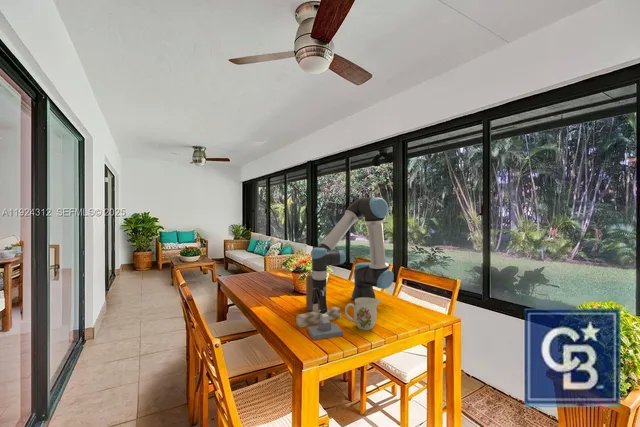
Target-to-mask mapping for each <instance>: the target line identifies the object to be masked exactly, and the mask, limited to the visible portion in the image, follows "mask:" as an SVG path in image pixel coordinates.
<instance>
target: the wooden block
mask: <svg viewBox="0 0 640 427" xmlns="http://www.w3.org/2000/svg"><path fill="white" fill-rule="evenodd" d="M312 279H313V278H312V274H311V272H310V273H308V274H307V275H306V278H305V281H306V282H305V287H306V288H305V289H306V292H305V302H306V303H305V308H306V311H309V312H313V303H312V293H313V286H312ZM323 290H324V291H325V292H326V293H327V285H326V286H325V287H323ZM318 302H319V299H318ZM317 304H318V310H320V304H319V303H317Z"/></svg>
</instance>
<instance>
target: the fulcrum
mask: <svg viewBox="0 0 640 427" xmlns="http://www.w3.org/2000/svg"><path fill="white" fill-rule="evenodd" d="M307 332H308V334H309V335H310V337H311V339H312V340H313V341H315V340H316V341H317V340H322V339H323V340H324V339H329V338H330V339H331V338H336V337H337V338H338V337H343V336H344V331H343V330H342V329H341V327H339V325H337V323H333V322H332V320H329V316H328V315H327V314H321V321H319V323H318V324H316V325H309V326H307Z"/></svg>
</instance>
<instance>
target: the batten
mask: <svg viewBox="0 0 640 427" xmlns="http://www.w3.org/2000/svg"><path fill="white" fill-rule="evenodd" d="M320 311H321V310H318V311H309V312H305V313H299V314H296V322H295V323H296V325H297V327H299V328H305V327H309V326H314V325H318V324H319V321H320V313H319V312H320ZM341 313H342V312H341V308H340V307H338V306H331V307H329V308H328V307H327V312H326V314H327V315H328V316H329V320H330V321H332V320H333V321H334V320H338V319H341V317H342V316H341Z"/></svg>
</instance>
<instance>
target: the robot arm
mask: <svg viewBox="0 0 640 427" xmlns="http://www.w3.org/2000/svg"><path fill="white" fill-rule="evenodd" d="M388 206H389V205H388V203H387V201H386V200H385V199H384V198H383V197H376V196H375V197H373V196H371V197H360V198H357V199H356V200H355V201H353V202H352V203H351V204H350V205H349V206H348V207H347V208H346V210H345V211H344V215H343V216H342V217H341V218H340V219H339V221H338V222H337V223H336V224H335V226H334V227H333V228H332V230H331V231H330V232H329V233H328V235H327V236H326V237H325V238H324V239H323V241H322V242H321V243H320V244H319V246H316V247H313V248H312V249H311V251H310V256H311V272H310V273H311V274H312V278H313V279H312V286H313V293H312V303H313V311H318V304H317V303H319V304H320V310H321V311H320V312H319V313H320V321H321V314H326V312H327V308H328V306H327V291H326V292H325V291H324V290H323V287H325V286H326V287H327V284H328V283H327V281H328V280H327V277H328V276H327V275H328V274H327V273H328V271H327V268H328V266H329V267H330V266H340V265H344V263H345V262H346V260H347V255H346V253H345V251H344V250H342V249H337V250H334V249H335V248H336V247H337V245H338V244H339V243H340V242H341V241H342V238H344V236H345V235H346V234H347V232H348V231H349V230H350V229H351V227H352V226H353V225H354V223H357V222H358V221H359V220H360V219H362V218H364V222H365V223H366V224H367V232H368V242H369V243H368V244H369V245H368V246H369V253H370V262H359V263H356V264H355V265H354V269H353V270H354V272H353V274H354V275H353V278H354V288H353V290H352V293H351V300H352V301H354V302H355V299H356V298H362V297H366V298H374V299H377V298H376V294H375V289H374V287H375V288H377V289H381V290H382V289H383V290H386V289H388V288H390V287H391V286H392V284H393V282H394V279H395V278H394V277H395V275H394V272H393V271H392V270H391V269H390V267H389V266H390V264H388V263H387V262H386V252H385V251H386V248H385V241H384V240H385V239H384V226H383V222H384V221H385V219H386V217H387V215H388V212H389V207H388ZM318 299H319V302H318ZM313 311H312V312H313Z"/></svg>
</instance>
